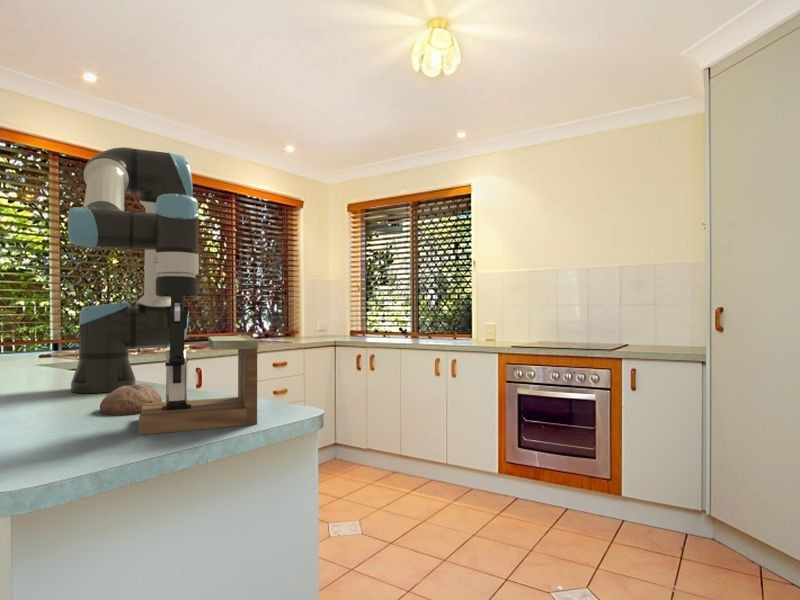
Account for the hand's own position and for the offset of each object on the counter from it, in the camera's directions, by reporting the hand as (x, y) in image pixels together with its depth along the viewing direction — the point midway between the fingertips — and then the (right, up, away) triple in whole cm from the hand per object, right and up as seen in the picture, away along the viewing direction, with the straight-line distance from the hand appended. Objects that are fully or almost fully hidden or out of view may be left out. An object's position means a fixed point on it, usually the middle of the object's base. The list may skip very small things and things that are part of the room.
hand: (176, 398), depth 97 cm
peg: (0, -3, 0) cm, 3 cm away
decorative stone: (-16, -5, +13) cm, 21 cm away
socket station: (+4, -5, +2) cm, 6 cm away
